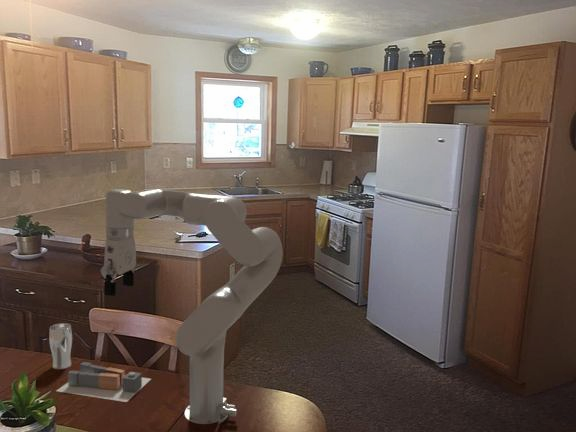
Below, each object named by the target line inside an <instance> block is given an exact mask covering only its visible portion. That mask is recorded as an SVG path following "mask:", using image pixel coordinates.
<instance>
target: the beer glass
mask: <svg viewBox="0 0 576 432" xmlns="http://www.w3.org/2000/svg"><path fill="white" fill-rule="evenodd" d="M72 331H73V330H72V324H70V323H68V322H67V323H66V322H65V323H64V322H60V323H56V324H55V323H54V324H53V325H50V327H49V332H48V333H49V338H48V339H49V341H48V342H49V347H50V351H51V356H52V368H53V369H54V370H64V369H68V368H70V367H72V361H71V352H72V351H71V350H72V345H73V332H72Z"/></svg>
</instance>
